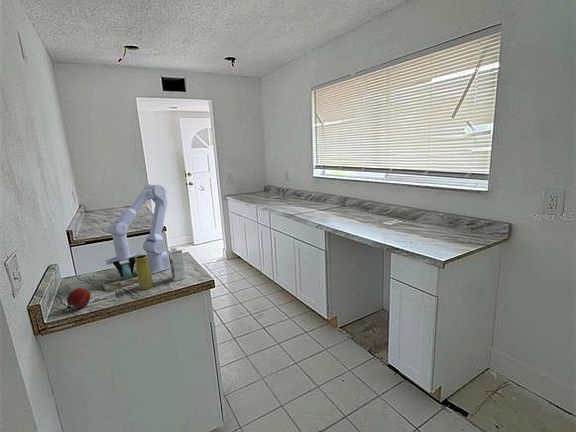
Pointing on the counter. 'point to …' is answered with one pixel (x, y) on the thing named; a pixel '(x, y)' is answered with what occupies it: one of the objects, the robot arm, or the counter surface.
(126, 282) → the brown tray
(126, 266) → the peg
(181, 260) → the syrup box
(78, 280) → the counter surface
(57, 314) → the counter surface
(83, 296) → the apple
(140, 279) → the vase
